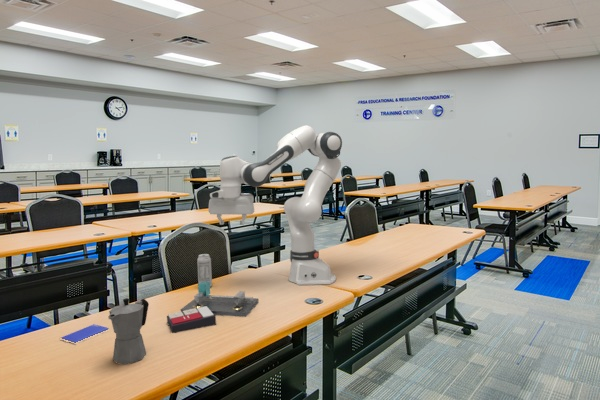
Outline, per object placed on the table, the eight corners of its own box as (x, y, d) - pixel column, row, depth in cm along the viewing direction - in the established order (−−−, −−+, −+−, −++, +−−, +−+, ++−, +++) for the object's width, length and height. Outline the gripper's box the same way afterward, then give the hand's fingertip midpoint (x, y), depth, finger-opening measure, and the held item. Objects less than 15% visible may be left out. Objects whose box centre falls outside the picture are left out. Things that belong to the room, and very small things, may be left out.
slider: (210, 298, 175) (209, 281, 174) (201, 305, 166) (200, 288, 165) (203, 297, 175) (202, 281, 175) (193, 305, 167) (192, 287, 166)
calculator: (166, 313, 155) (207, 304, 161) (167, 324, 155) (208, 315, 162) (171, 323, 145) (215, 313, 151) (173, 335, 145) (216, 325, 152)
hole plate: (258, 302, 174) (258, 287, 174) (246, 316, 159) (245, 301, 158) (198, 299, 179) (197, 285, 179) (180, 313, 164) (179, 298, 163)
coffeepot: (125, 370, 120) (121, 307, 118) (100, 364, 124) (95, 304, 122) (162, 347, 135) (159, 291, 133) (138, 343, 138) (134, 288, 136)
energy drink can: (213, 285, 198) (212, 253, 197) (209, 289, 192) (208, 256, 191) (201, 285, 199) (199, 253, 197) (196, 289, 193) (195, 256, 191)
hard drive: (93, 323, 152) (59, 337, 142) (108, 327, 149) (75, 341, 138) (93, 328, 153) (60, 341, 142) (109, 332, 149) (75, 346, 138)
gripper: (255, 192, 190) (256, 223, 191) (212, 192, 194) (213, 223, 195) (251, 193, 183) (252, 225, 185) (206, 194, 187) (207, 225, 189)
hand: (232, 224), depth 190 cm, fingers open, 8 cm apart
